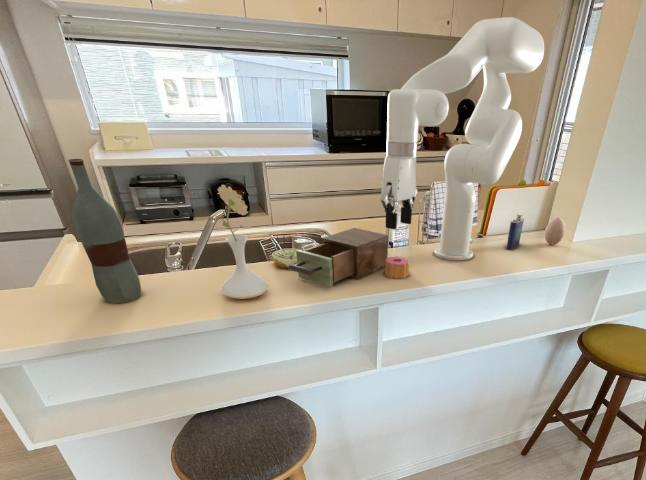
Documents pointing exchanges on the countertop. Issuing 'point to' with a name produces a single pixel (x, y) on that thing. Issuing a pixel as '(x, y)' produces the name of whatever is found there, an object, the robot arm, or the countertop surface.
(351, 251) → the drawer
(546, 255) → the countertop surface
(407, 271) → the donut
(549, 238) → the egg
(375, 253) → the cabinet
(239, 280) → the flower in vase
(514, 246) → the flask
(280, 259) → the decorated donut
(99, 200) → the bottle
